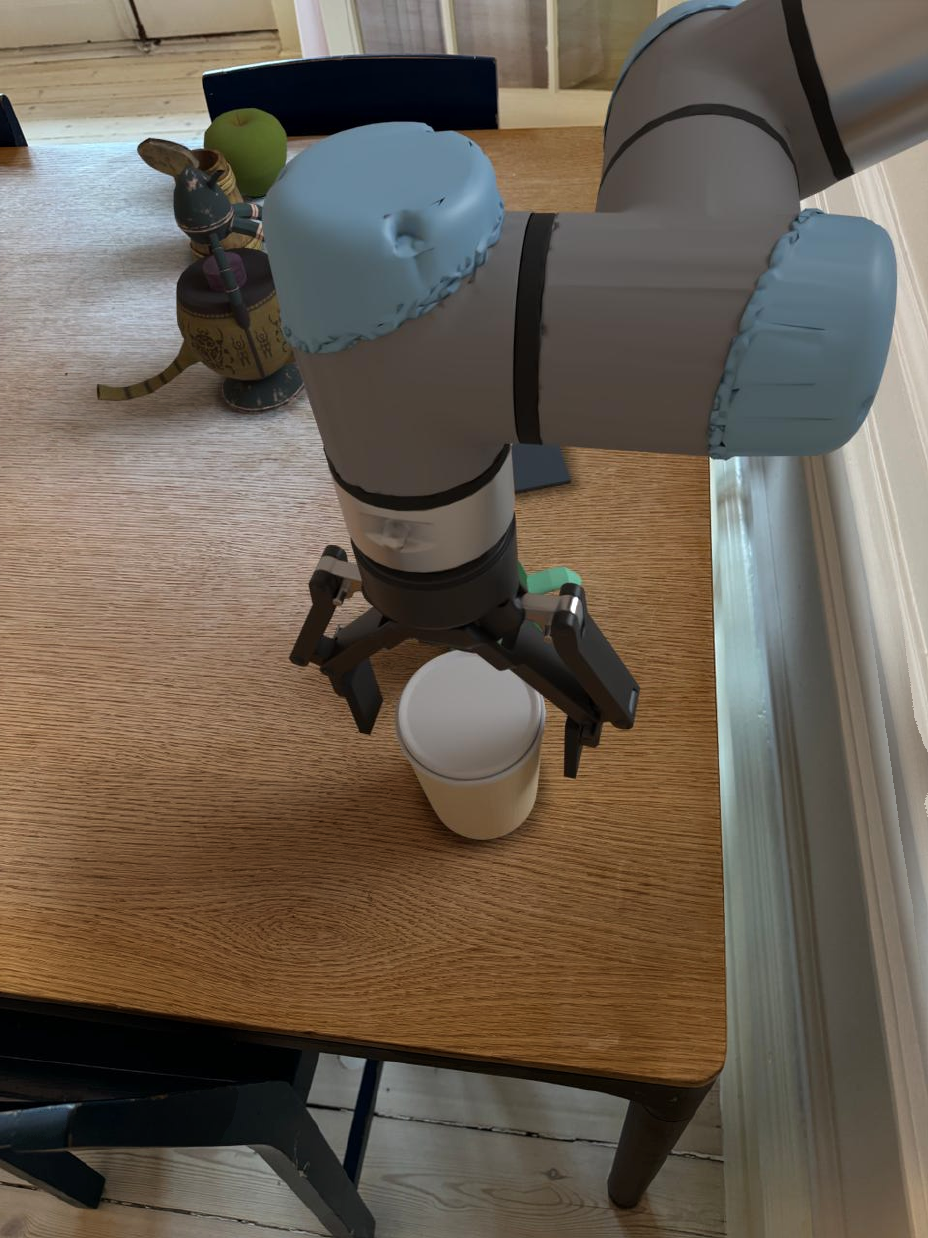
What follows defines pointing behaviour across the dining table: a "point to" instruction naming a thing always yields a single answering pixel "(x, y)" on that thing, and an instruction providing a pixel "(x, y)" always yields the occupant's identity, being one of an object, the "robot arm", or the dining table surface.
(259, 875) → the dining table surface
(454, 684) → the coffee cup
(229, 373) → the teapot
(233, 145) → the apple
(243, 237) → the wooden mug
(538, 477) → the place mat
